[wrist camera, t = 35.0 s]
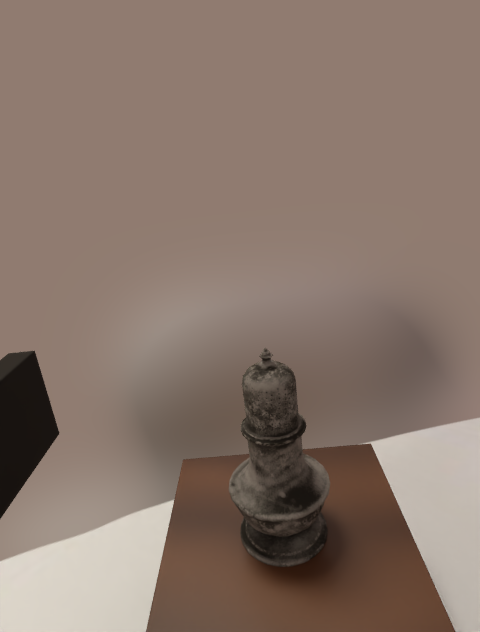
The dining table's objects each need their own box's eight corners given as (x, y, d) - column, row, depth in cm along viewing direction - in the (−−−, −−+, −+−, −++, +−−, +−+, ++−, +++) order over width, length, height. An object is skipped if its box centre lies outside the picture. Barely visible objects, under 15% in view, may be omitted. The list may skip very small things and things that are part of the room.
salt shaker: (257, 486, 30) (238, 325, 26) (342, 505, 28) (334, 330, 24) (218, 554, 25) (188, 368, 21) (318, 585, 23) (303, 380, 19)
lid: (184, 467, 34) (183, 459, 34) (371, 452, 33) (370, 443, 33) (143, 666, 21) (140, 655, 20) (456, 647, 20) (457, 635, 20)
